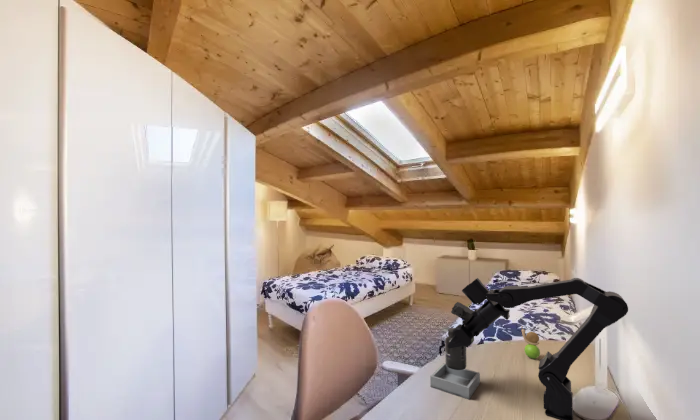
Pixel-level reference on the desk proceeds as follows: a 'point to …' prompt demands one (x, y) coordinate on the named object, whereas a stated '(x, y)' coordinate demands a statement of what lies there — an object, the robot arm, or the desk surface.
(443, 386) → the box
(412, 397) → the desk surface
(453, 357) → the supplement bottle
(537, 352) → the snail figurine
